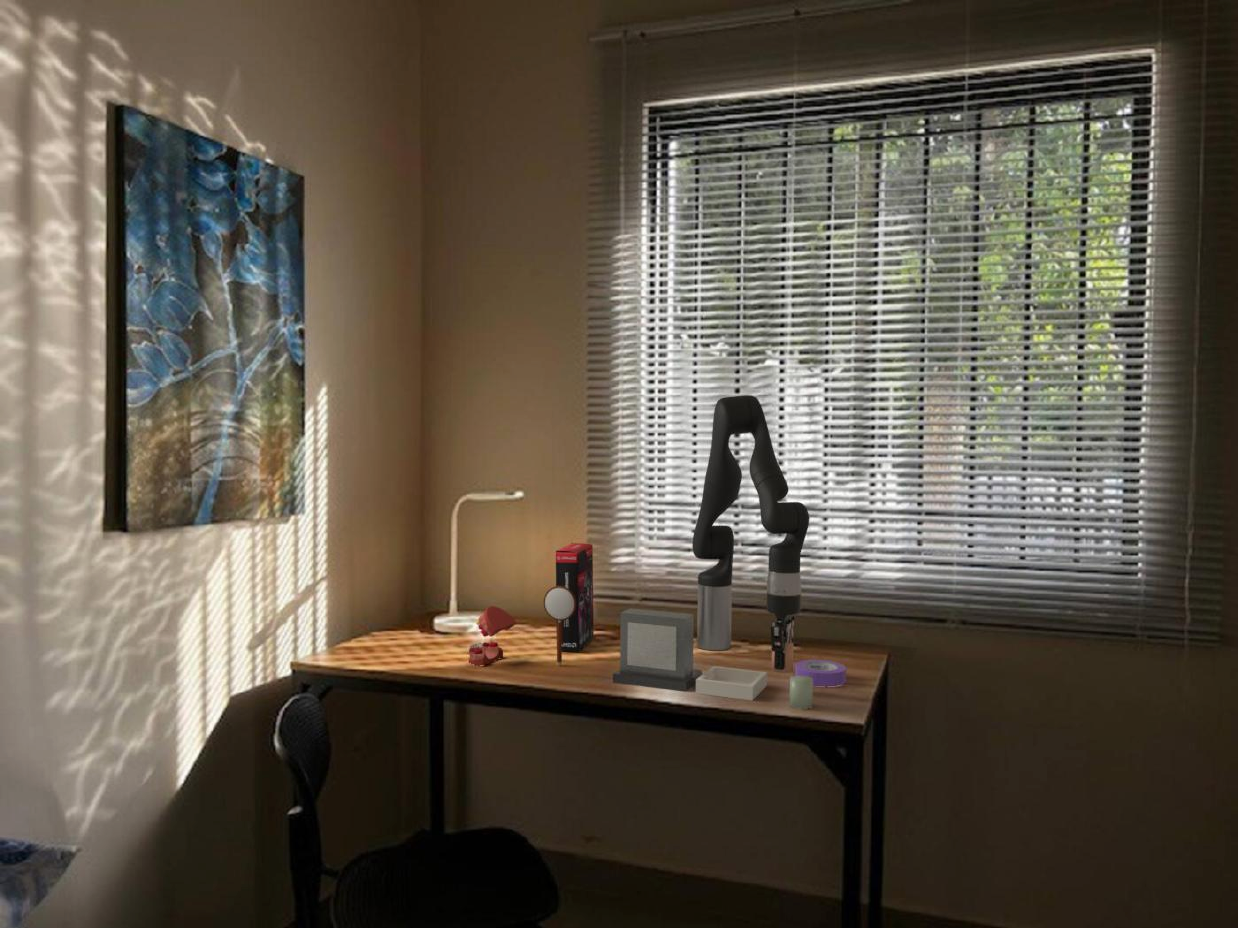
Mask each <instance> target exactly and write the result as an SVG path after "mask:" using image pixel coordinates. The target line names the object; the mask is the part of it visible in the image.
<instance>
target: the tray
mask: <svg viewBox="0 0 1238 928" xmlns="http://www.w3.org/2000/svg"><path fill="white" fill-rule="evenodd" d="M767 686H768V672H767V671H760V670H759V671H758V670H750V669H741V668H733V667H726V666H725V667H723V666H715V665H713V666H711V667H710V668H709V669H708V670H706V671H705V672H704V673H702V675H701V676H700V677H699V678H697V679H696V684H695V694H697V695H705V696H713V697H722V698H730V699H737V700H745V701H754V700H755V699H756V698H757V696H759V694H761V693H762V691H763V690H765V688H766V687H767ZM753 699H754V700H753Z"/></svg>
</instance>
